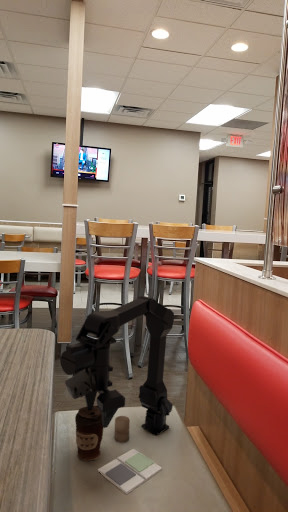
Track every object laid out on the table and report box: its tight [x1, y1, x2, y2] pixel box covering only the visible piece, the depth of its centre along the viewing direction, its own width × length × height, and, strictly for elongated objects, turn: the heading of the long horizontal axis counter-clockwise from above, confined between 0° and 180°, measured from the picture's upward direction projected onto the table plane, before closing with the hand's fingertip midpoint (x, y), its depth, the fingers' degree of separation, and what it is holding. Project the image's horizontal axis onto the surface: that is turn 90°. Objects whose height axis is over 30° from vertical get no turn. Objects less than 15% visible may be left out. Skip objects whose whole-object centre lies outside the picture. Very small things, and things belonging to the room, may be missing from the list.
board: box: [97, 448, 163, 495], centre depth 102 cm, size 13×11×1 cm
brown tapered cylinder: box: [113, 415, 131, 444], centre depth 115 cm, size 4×4×6 cm
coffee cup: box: [74, 405, 104, 462], centre depth 107 cm, size 9×8×13 cm
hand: (97, 418), depth 101 cm, fingers open, 9 cm apart
